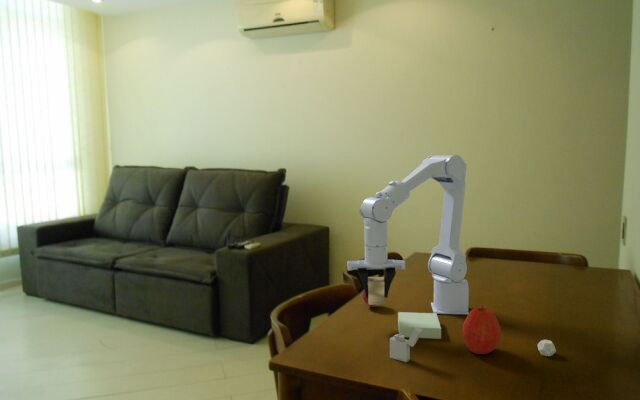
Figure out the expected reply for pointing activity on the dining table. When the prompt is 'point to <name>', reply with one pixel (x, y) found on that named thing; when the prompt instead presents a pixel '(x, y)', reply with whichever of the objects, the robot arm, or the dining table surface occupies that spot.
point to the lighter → (403, 345)
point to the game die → (546, 347)
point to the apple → (481, 330)
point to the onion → (366, 299)
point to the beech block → (375, 290)
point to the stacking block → (419, 324)
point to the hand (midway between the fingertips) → (376, 296)
